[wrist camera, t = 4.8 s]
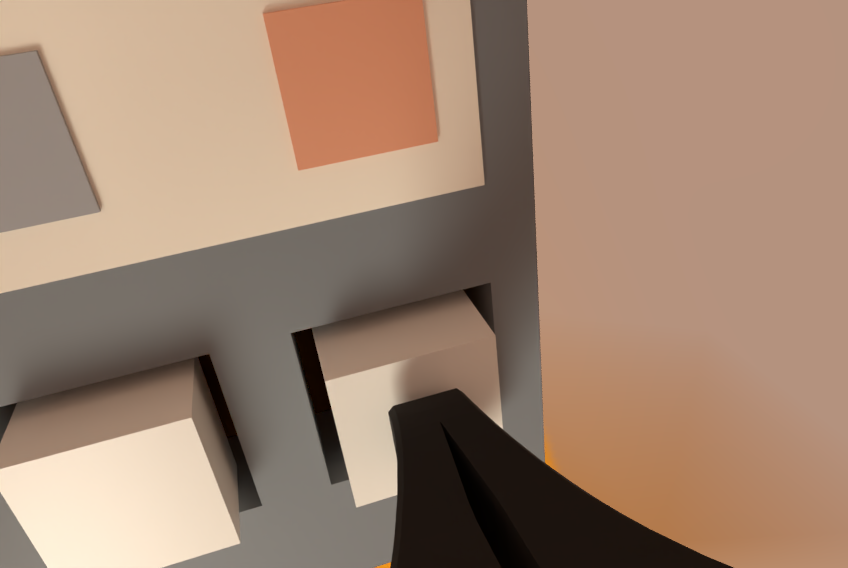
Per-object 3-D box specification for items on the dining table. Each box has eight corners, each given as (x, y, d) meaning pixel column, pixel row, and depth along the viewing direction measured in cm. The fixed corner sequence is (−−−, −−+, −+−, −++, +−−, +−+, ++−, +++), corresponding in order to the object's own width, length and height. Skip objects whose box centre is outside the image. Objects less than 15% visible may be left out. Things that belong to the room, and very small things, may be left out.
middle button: (85, 508, 14) (66, 596, 12) (21, 391, 12) (-12, 472, 10) (236, 465, 15) (240, 543, 13) (194, 347, 13) (191, 417, 11)
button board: (-154, 647, 16) (-217, 769, 13) (-739, 29, 9) (-1079, 63, 6) (508, 446, 19) (550, 516, 16) (465, -128, 12) (526, -143, 10)
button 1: (338, 436, 15) (356, 507, 13) (309, 319, 13) (325, 381, 11) (470, 398, 16) (506, 461, 14) (457, 282, 14) (495, 335, 12)
